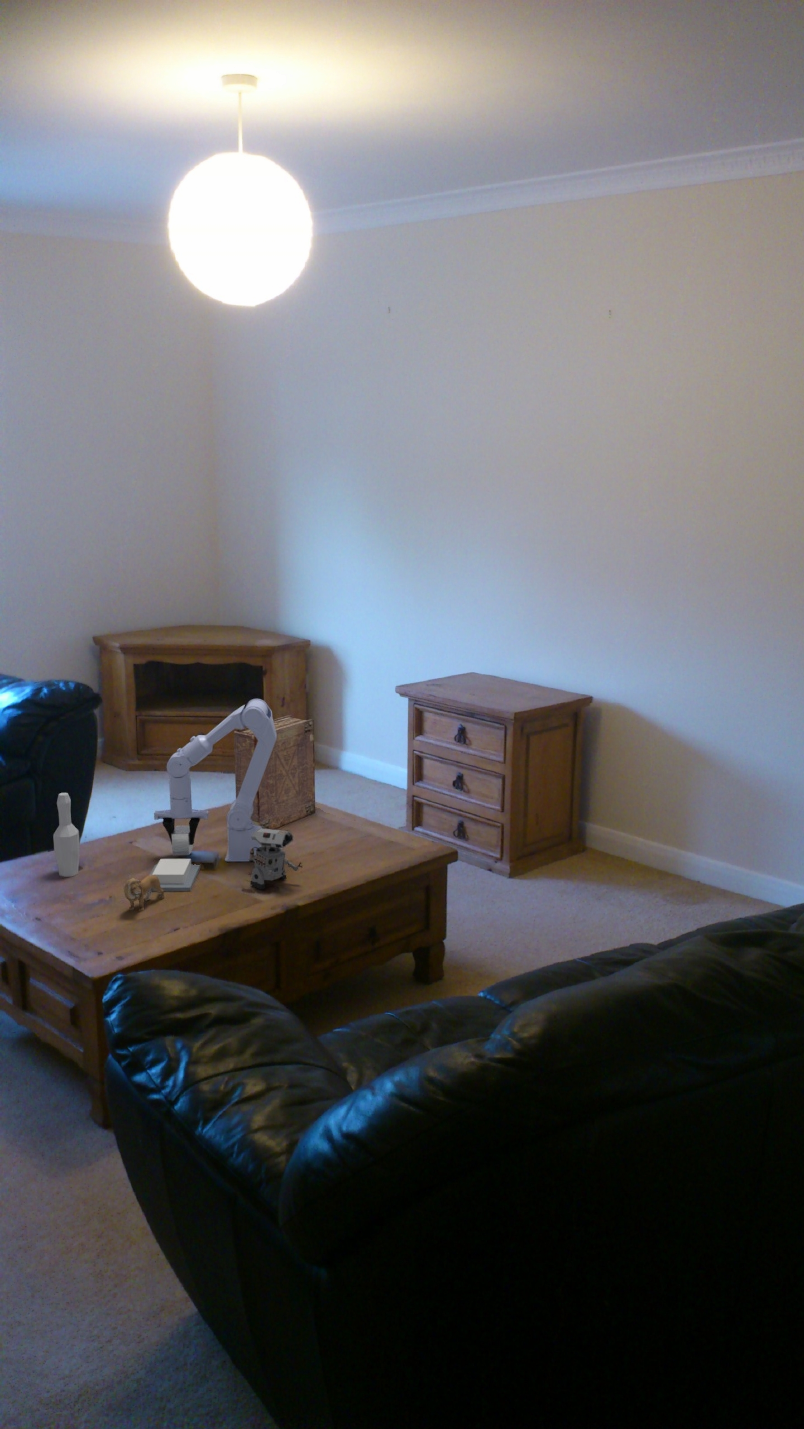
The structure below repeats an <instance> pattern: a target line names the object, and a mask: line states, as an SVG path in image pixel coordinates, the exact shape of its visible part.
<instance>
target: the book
mask: <svg viewBox="0 0 804 1429" xmlns="http://www.w3.org/2000/svg"><path fill="white" fill-rule="evenodd" d="M273 721H274V725H275V729H276V734H277V738H276V741H275V744H274V747H273V749H272V752H271V755H270V757H269V760H268V763H267V766H266V768H265V771H264V774H263V776H262V779H261V782H260V785H259V787H258V790H257V793H256V795H255V798H254V801H253V813H252V815H251V818H250V819H251V820H252V821H253V823H254V825H256V826H261V827H262V829H272V830H278V829H279V828H282V827H284V826H286V825H289V824H291V823H292V824H293V823H294V822H297V821H299V820H301V819H304V818H307V817H309V816H311V815H314V814H315V813H316V784H315V783H316V781H315V780H316V779H315V775H316V774H315V722H314V719H313V718H311V719H307V720H306V719H305V720H304V719H302V718H301V719H300V718H295V717H293V715H292V714H289V715H285V716H282V717H281V716H280V717H278V718H275V719H274V718H273ZM233 742H234V743H233V745H234V746H233V747H234V750H233V751H234V777H235V783H234V784H235V800H236V799H237V797H238V795H239V792H240V789H241V786H242V784H243V781H244V778H245V775H246V773H247V770H248V767H249V764H250V762H251V759H252V756H253V753H254V751H255V748H256V745H257V743H258V740H257V738H256V737H255V735H254V733H253V732H252V731H251V730H249V729H248V728H247V727H245V728H244V729H236V730H234V732H233Z"/></svg>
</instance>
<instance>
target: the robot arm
mask: <svg viewBox="0 0 804 1429" xmlns="http://www.w3.org/2000/svg"><path fill="white" fill-rule="evenodd" d="M245 705H246V706H245ZM273 720H274V718H273V711H272V709H271V707H269V705H268V704H267V702H266V701H265V700H263V699H261V698H253V699H250V700H249V701H248V702H247V703H246V704H243V705H242V706H240V707H239V708H237V709H236V710H234V711H233V712H232V713H230V714H229V715H228V716H227V717H226V718H224V719H223V720H222V721H221V722H220V723H219V724H217V725H216V726H215V727H214V728H213V729H212V730H210V731H209V732H208V733H207V734H205V735H203V734H198V735H197V736H195V735H193V736H192V737H191V738H190V739H189V741H190V742H188V743H186V744H185V745H184V746H183V747H182V748H181V747H179V748H177V750H176V752H175V753H173V754H172V755H171V756H170V758H169V759H168V761H167V763H166V771H167V773H168V777H169V781H168V784H169V785H168V786H169V805H170V807H169V808H170V809H164V810H155V811H154V813H153V818H154V820H155V821H157V820H163V821H162V826H163V827H164V828H165V830H166V832H167V834H168V837H169V840H170V843H171V845H172V833H173V831H174V829H175V826H176V825H175V821H176V820H179V819H180V820H182V819H183V820H187V819H189V822H188V826H189V827H190V845H194V844H195V838H196V832H197V829H198V826H199V823H200V821H201V820H202V819H203V820H209V818H210V815H209V810H202V809H195V808H193V803H192V784H191V781H192V780H191V772H190V769H191V767H195V766H196V765H198V763H200V762H201V761H202V760H203V759H205V758H206V757H207V756H208V755H210V754H211V753H212V752H213V747H214V745H215V744H216V743H218V741H220V740H221V739H223V738H224V737H225V736H227V735H228V734H230V733H231V732H233V730H234V731H235V729H236V730H240V729H244V728H248V729H249V730H251V731H252V732H253V733H254V735H255V737H256V738H257V740H258V743H257V745H256V748H255V751H254V753H253V756H252V759H251V762H250V764H249V767H248V770H247V773H246V775H245V778H244V781H243V784H242V786H241V789H240V792H239V795H238V797H237V799H236V798H235V800H233V801H232V803H231V805H230V808H229V811H228V812H227V814H226V824H227V830H226V831H227V854H226V856H225V858H224V861H225V862H250V861H249V859H250V850H251V849H252V848H253V849H254V855H256V848H254V847H257V848H259V847H262V846H261V845H260V844H259V843H258V842H257V840H252V838H251V835H252V834H253V833H254V832H255V831H257V830H258V829H260V828H261V829H262V827H261V826H256V825H254V823H253V821H252V820H251V819H250V818H251V815H252V813H253V801H254V798H255V795H256V793H257V790H258V787H259V785H260V782H261V779H262V776H263V774H264V771H265V768H266V766H267V763H268V760H269V757H270V755H271V752H272V749H273V747H274V744H275V741H276V738H277V734H276V729H275V725H274V721H273ZM253 862H255V861H254V860H253Z"/></svg>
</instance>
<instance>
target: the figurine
mask: <svg viewBox="0 0 804 1429" xmlns="http://www.w3.org/2000/svg"><path fill="white" fill-rule="evenodd" d="M251 838H252V840H257V842H258V843H259V844H260V845H261V846H262V847H259V848H257V847H254V848H256V855H254V849H253V848H252V849H251V850H250V859H249V861H248V862H249V863H250V862H251V863H252V862H254V864H253V869H252V871H251V875H250V877H251V878H250V879H251V880H250V883H249V885H250V886H252V887H254V888H257V889H259V890H264V889H266V883H265V881H275V880H279V881H282V882H283V881H286V880H287V874H286V873H287V872H286V868H285V865H287V867H288V868H291V869H292V870H293V871H295V872H296V871H298V870H299V868H303V863H302V862H301V861H300V862H299V864H297V865H295V864H293V863H292V862H291V861H289V859H288V858H286V850H285V849H284V848H286V847H287V846H289V845H290V844H291V843H292V842H294V834H293V833H291V831H290V830H288V829H287V830H280V829H274V830H272V829H261V828H260V829H258V830H257V831H255V832H254V833H253V834H252V835H251ZM253 860H254V861H253Z"/></svg>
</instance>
